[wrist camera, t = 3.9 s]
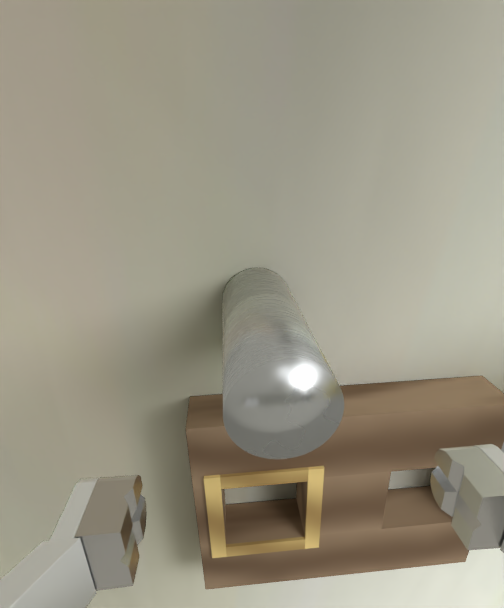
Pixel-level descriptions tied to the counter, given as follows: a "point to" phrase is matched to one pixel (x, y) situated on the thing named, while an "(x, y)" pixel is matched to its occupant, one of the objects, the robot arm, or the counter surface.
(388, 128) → the counter surface
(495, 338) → the counter surface
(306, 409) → the pin
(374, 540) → the socket board
